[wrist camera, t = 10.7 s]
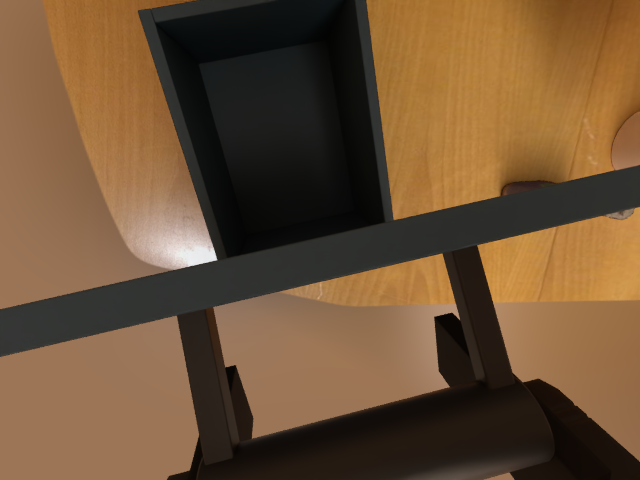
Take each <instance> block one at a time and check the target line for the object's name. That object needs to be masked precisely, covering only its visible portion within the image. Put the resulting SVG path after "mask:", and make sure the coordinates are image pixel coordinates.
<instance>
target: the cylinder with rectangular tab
mask: <svg viewBox="0 0 640 480" xmlns="http://www.w3.org/2000/svg"><path fill="white" fill-rule="evenodd" d="M611 160H612V164H613V167H614V169H615V170H619V169H624V168H628V167H633V166H637V165H640V111H638V112H637V113H635V114H633V115H632V116H631V117H630V118H629V119H628V120H626V121H625V123H624V124H623V125H622V127H621V128H620V129H619V131H618V133H617V135H616V137H615V139H614V142H613V146H612V152H611Z"/></svg>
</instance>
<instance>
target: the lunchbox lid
mask: <svg viewBox="0 0 640 480" xmlns="http://www.w3.org/2000/svg"><path fill="white" fill-rule="evenodd" d="M637 207H640V165H637V166H633V167H628V168H624V169H619V170H615V171H610V172H606V173H602V174H597V175H593V176H588V177H584V178H580V179H575V180H571V181H566V182H562V183H557V184H553V185H549V186H544V187H540V188H535V189H531V190H526V191H522V192H518V193H513V194H509V195H504V196H500V197H495V198H491V199H487V200H482V201H478V202H473V203H469V204H464V205H460V206H456V207H451V208H447V209H442V210H438V211H433V212H429V213H425V214H420V215H416V216H411V217H407V218H403V219H398V220H394V221H389V222H385V223H380V224H376V225H372V226H367V227H363V228H358V229H354V230H349V231H345V232H341V233H336V234H332V235H327V236H323V237H318V238H314V239H310V240H305V241H301V242H296V243H292V244H287V245H283V246H279V247H274V248H270V249H265V250H261V251H256V252H252V253H248V254H243V255H239V256H234V257H230V258H226V259H221V260H217V261H212V262H208V263H203V264H199V265H195V266H190V267H186V268H181V269H177V270H173V271H168V272H164V273H159V274H155V275H150V276H146V277H141V278H137V279H133V280H129V281H124V282H119V283H115V284H110V285H106V286H102V287H97V288H93V289H88V290H84V291H79V292H75V293H71V294H67V295H62V296H57V297H53V298H49V299H44V300H40V301H35V302H31V303H26V304H22V305H18V306H13V307H9V308H5V309H0V357H1V356H6V355H10V354H14V353H19V352H23V351H27V350H32V349H36V348H40V347H44V346H48V345H53V344H57V343H61V342H66V341H70V340H74V339H78V338H82V337H87V336H91V335H96V334H99V333H104V332H108V331H113V330H117V329H121V328H125V327H130V326H134V325H138V324H143V323H146V322H151V321H155V320H160V319H163V318H168V317H172V316H177V318H178V324H179V329H180V334H181V340H182V345H183V350H184V356H185V361H186V367H187V372H188V377H189V383H190V388H191V393H192V398H193V404H194V409H195V415H196V420H197V425H198V431H199V436H200V441H201V447H202V452H203V458H202V460H201V462H200V465H199V469H198V473H197V479H196V480H484V479H487V478H491V477H494V476H498V475H501V474H505V473H508V472H512V471H516V470H519V469H523V468H526V467H530V466H534V465H537V464H541V463H544V462H548V461H550V460H551V459H552V457H553V455H554V451H555V444H554V438H553V434H552V431H551V428H550V425H549V423H548V420H547V418H546V416H545V414H544V412H543V410H542V408H541V407H540V405H539V403H538V402H537V400H536V399H535V397H534V396H533V395H532V393H531V392H530V391H529V390H528V388H527V387H526V386H525V385H524V384H523V383H522V382H521V381H520V380H518V379H517V378H516V377H514V376H513V373H512V369H511V366H510V363H509V359H508V355H507V351H506V348H505V344H504V340H503V337H502V333H501V330H500V326H499V322H498V319H497V315H496V312H495V308H494V305H493V301H492V297H491V294H490V290H489V286H488V283H487V279H486V276H485V272H484V268H483V265H482V261H481V257H480V254H479V250H478V247H477V245H479V244H484V243H488V242H492V241H497V240H501V239H505V238H509V237H514V236H518V235H522V234H526V233H531V232H535V231H539V230H543V229H548V228H552V227H556V226H561V225H565V224H569V223H573V222H578V221H582V220H586V219H590V218H595V217H599V216H603V215H607V214H612V213H616V212H620V211H624V210H629V209H633V208H637ZM441 253H443V257H444V260H445V264H446V268H447V272H448V275H449V279H450V283H451V287H452V290H453V294H454V298H455V302H456V305H457V309H458V313H459V317H460V320H461V324H462V328H463V332H464V335H465V339H466V343H467V347H468V350H469V354H470V358H471V362H472V365H473V369H474V373H475V377H476V381H472V382H468V383H464V384H460V385H456V386H453V387H449V388H445V389H441V390H437V391H433V392H430V393H426V394H422V395H418V396H414V397H411V398H407V399H403V400H399V401H395V402H391V403H388V404H384V405H380V406H376V407H372V408H368V409H364V410H361V411H357V412H353V413H350V414H346V415H342V416H338V417H334V418H330V419H326V420H322V421H318V422H315V423H311V424H307V425H303V426H299V427H295V428H292V429H288V430H284V431H280V432H276V433H273V434H269V435H265V436H261V437H257V438H253V439H249V440H246V441H242V442H240V441H239V436H238V431H237V425H236V420H235V415H234V410H233V405H232V400H231V395H230V390H229V385H228V380H227V375H226V370H225V365H224V360H223V355H222V350H221V344H220V339H219V334H218V330H217V324H216V319H215V315H214V309H213V307H215V306H219V305H224V304H228V303H232V302H236V301H240V300H245V299H249V298H253V297H258V296H262V295H266V294H270V293H275V292H279V291H283V290H288V289H292V288H296V287H300V286H305V285H309V284H313V283H317V282H322V281H326V280H330V279H334V278H339V277H343V276H347V275H352V274H356V273H360V272H364V271H369V270H373V269H377V268H381V267H386V266H390V265H394V264H398V263H403V262H407V261H411V260H415V259H420V258H424V257H428V256H433V255H437V254H441Z"/></svg>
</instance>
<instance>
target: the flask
mask: <svg viewBox="0 0 640 480" xmlns="http://www.w3.org/2000/svg"><path fill="white" fill-rule="evenodd" d="M553 184H557V183H553V182H548V181H540V180H538V181H525V182H522V181H521V182H514V183H511V184H508V185H507V186H505V187H504V188H503V190H502V196H504V195H509V194H513V193H518V192H522V191H526V190H531V189H535V188H540V187H544V186H549V185H553ZM504 190H505V191H504ZM503 191H504V192H503ZM634 209H635V208H633V209H629V210H624V211H620V212H616V213H612V214H607V215H603V216H606V217H609V218H614V219H618V220H624V219H626V218H627V217H629V216H631V215H632V214H633V212H634Z"/></svg>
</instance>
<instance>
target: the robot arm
mask: <svg viewBox="0 0 640 480" xmlns="http://www.w3.org/2000/svg"><path fill="white" fill-rule="evenodd" d="M434 319H435V331H436V343H437V354H438V367H439V372H440V373H441V375H442V376H443V378H444V379H445V381H446V382H447V383H448V385H449V386H450V387H453V386H456V385H460V384H464V383H468V382H472V381H476V377H475V373H474V369H473V365H472V362H471V358H470V354H469V350H468V347H467V343H466V339H465V335H464V332H463V328H462V324H461V321H460V320H459V319H458V318H457V317H456V316H455V315H454V314H453V313H448V314H444V315H440V316H436V317H434ZM225 370H226V375H227V380H228V385H229V390H230V395H231V400H232V405H233V410H234V415H235V420H236V425H237V431H238V436H239V441H240V442H242V441H246V440H249V439H252V428H253V416H252V413H251V410H250V407H249V404H248V401H247V398H246V395H245V392H244V389H243V386H242V383H241V380H240V377H239V374H238V371H237V368H236V365H234V366H230V367H226V368H225ZM513 376H514V377H516V376H515V375H514V374H513ZM516 378H517V377H516ZM517 379H518V378H517ZM518 380H519V379H518ZM520 381H521V380H520ZM521 382H522V381H521ZM522 383H523V382H522ZM523 384H524V385H525V386H526V387H527V388H528V390H529V391H530V392H531V393H532V395H533V396H534V397H535V399H536V400H537V402H538V403H539V405H540V407H541V408H542V410H543V412H544V414H545V416H546V418H547V420H548V423H549V425H550V428H551V431H552V434H553V438H554V444H555V451H554V455H553V457H552V459H551V460H550V461H548V462H544V463H541V464H537V465H534V466H530V467H526V468H523V469H519V470H516V471H512V472H510V474H511V475H512V476H513V478H514V479H515V480H640V462H639V461H638V460H637V459H636V458H635V457H634V456H633V455H632V454H630V453H629V452H628V451H627V450H626V449H625V448H624V447H623V446H621V445H620V444H619V443H618V442H617V441H616V440H615V439H614V438H612V437H611V436H610V435H609V434H608V433H607V432H606V431H605V430H603V429H602V428H601V427H600V426H599V425H598V424H597V423H596V422H594V421H593V420H592V419H591V418H588V417H587V414H586V413H584V412H583V411H582V410H581V409H580V408H579V407H578V406H575V405H574V403H573V402H572V401H571V400H570V399H569V398H567V397H566V396H565V395H564V394H563V393H562V392H561V391H560V390H558V389H557V388H555V387H553V386H551V385H550V384H548V383H546V382H544V381H542V380H540V379H535V380H531V381H528V382H524V383H523ZM202 458H203V452H202V447H201V441H200V436H199V438H198V442H197V446H196V450H195V453H194V457H193V461H192V465H191V469H190V471H187V472H183V473H180V474H175V475H171V476H169V477H168V479H167V480H196V479H197V473H198V469H199V465H200V462H201V460H202Z"/></svg>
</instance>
